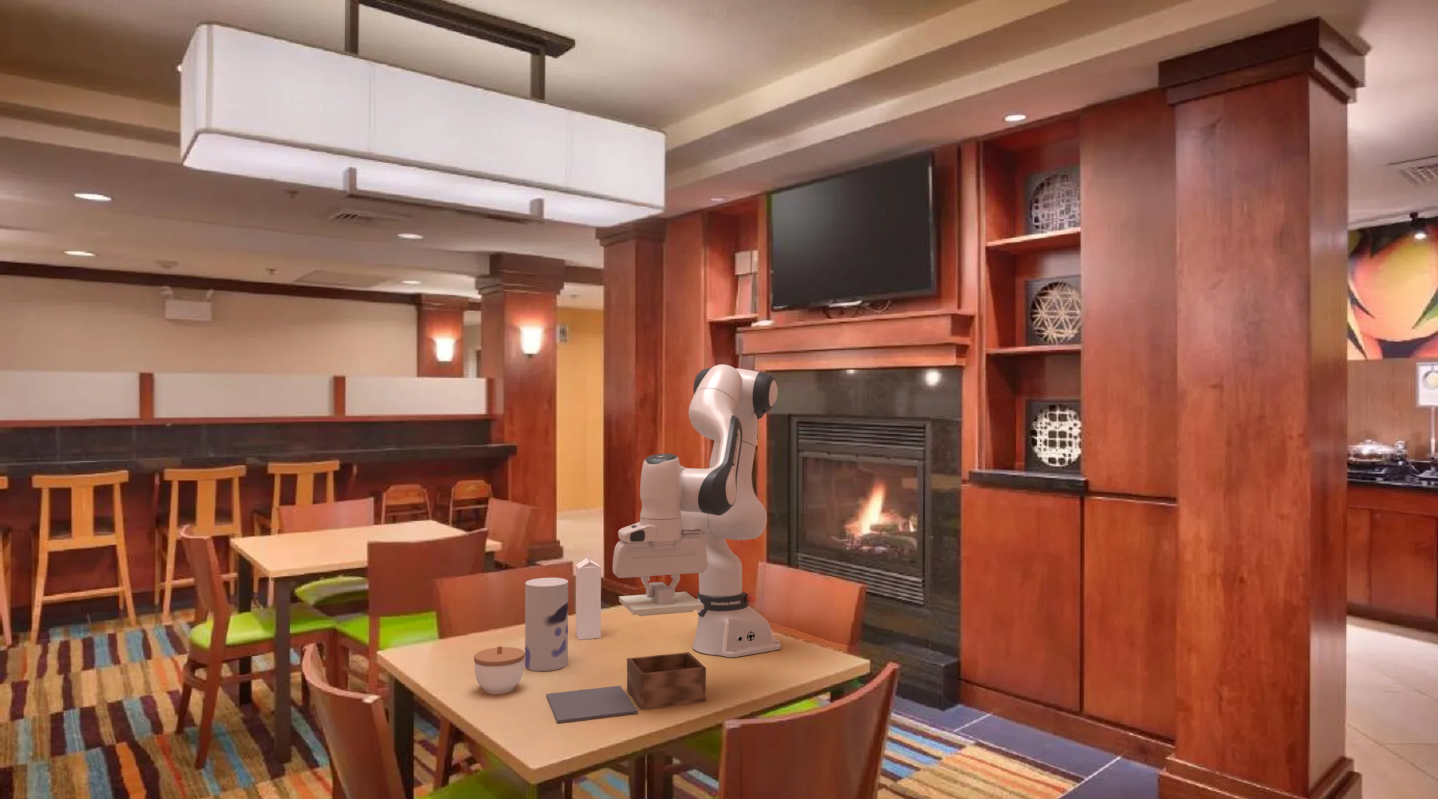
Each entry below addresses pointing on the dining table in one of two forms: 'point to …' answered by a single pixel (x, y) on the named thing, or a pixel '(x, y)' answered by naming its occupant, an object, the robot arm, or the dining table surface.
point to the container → (546, 624)
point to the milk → (588, 599)
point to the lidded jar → (499, 669)
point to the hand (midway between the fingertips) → (660, 596)
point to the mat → (590, 704)
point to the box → (666, 680)
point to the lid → (661, 602)
